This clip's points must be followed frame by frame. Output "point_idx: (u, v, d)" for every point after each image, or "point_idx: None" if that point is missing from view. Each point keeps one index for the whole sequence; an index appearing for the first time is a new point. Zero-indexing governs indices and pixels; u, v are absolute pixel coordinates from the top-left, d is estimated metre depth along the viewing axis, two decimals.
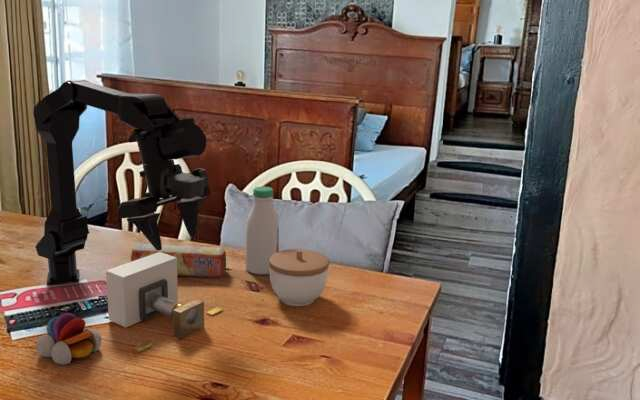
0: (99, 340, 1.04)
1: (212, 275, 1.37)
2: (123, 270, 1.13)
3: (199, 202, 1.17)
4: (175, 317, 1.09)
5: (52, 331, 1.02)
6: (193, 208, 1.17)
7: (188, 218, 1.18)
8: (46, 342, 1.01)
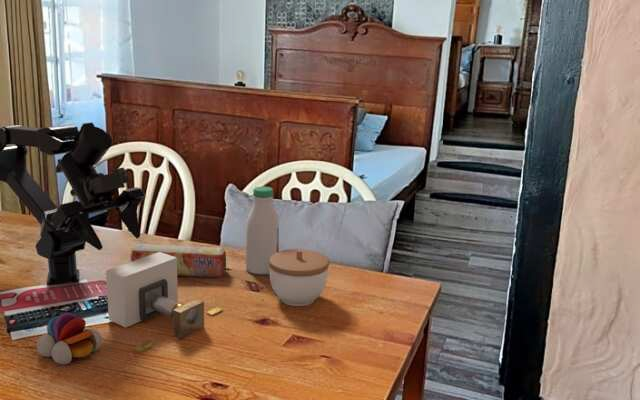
0: (99, 340, 1.04)
1: (212, 275, 1.37)
2: (123, 270, 1.13)
3: (133, 203, 1.23)
4: (175, 317, 1.09)
5: (52, 331, 1.02)
6: (130, 210, 1.23)
7: (129, 222, 1.24)
8: (46, 342, 1.01)
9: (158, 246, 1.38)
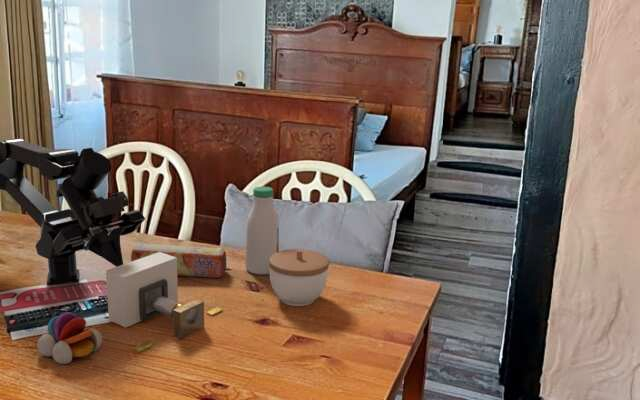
0: (100, 339, 1.04)
1: (212, 275, 1.37)
2: (123, 270, 1.13)
3: (116, 231, 1.21)
4: (175, 317, 1.09)
5: (53, 330, 1.03)
6: (112, 238, 1.21)
7: None
8: (47, 342, 1.01)
9: (158, 246, 1.38)
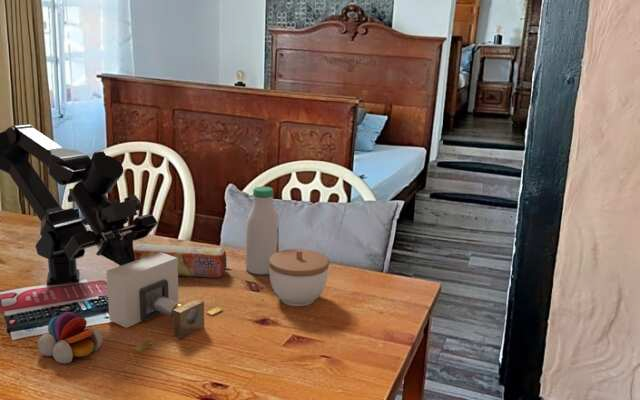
0: (100, 339, 1.04)
1: (212, 275, 1.37)
2: (123, 270, 1.13)
3: (128, 235, 1.19)
4: (175, 317, 1.09)
5: (53, 330, 1.03)
6: (125, 243, 1.19)
7: None
8: (47, 341, 1.01)
9: (158, 246, 1.38)
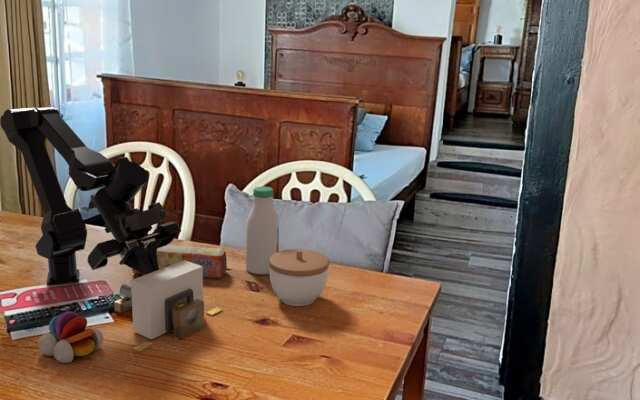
0: (101, 338, 1.05)
1: (212, 276, 1.37)
2: (148, 280, 1.09)
3: (152, 244, 1.16)
4: (175, 317, 1.09)
5: (54, 330, 1.03)
6: (149, 252, 1.15)
7: None
8: (48, 341, 1.01)
9: None
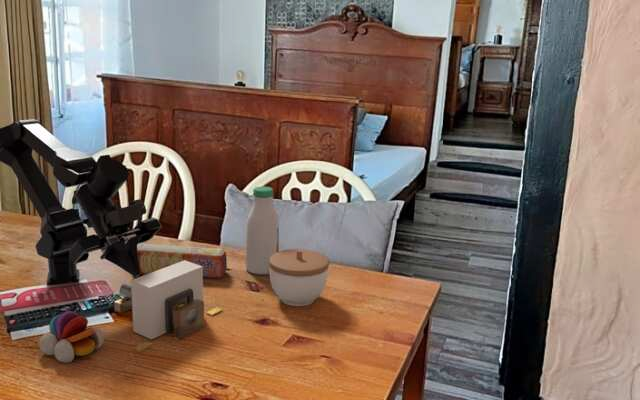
0: (101, 338, 1.05)
1: (212, 276, 1.37)
2: (148, 280, 1.09)
3: (133, 240, 1.19)
4: (175, 317, 1.09)
5: (55, 329, 1.03)
6: (130, 247, 1.19)
7: None
8: (49, 340, 1.01)
9: (159, 246, 1.38)
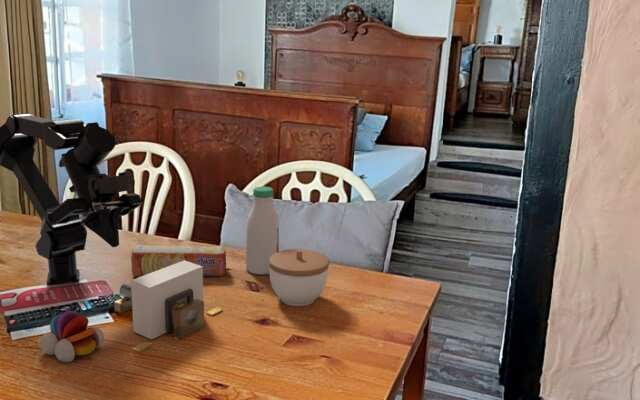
0: (102, 338, 1.05)
1: (215, 274, 1.38)
2: (148, 280, 1.09)
3: (116, 210, 1.19)
4: (175, 317, 1.09)
5: (55, 329, 1.03)
6: (112, 217, 1.19)
7: None
8: (49, 340, 1.02)
9: (158, 247, 1.37)
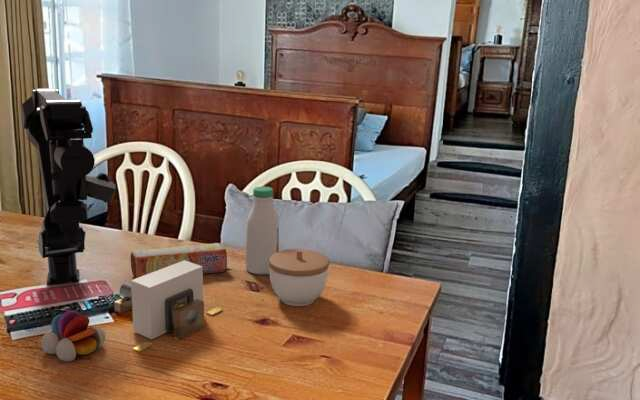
0: (103, 337, 1.05)
1: (217, 270, 1.40)
2: (148, 280, 1.09)
3: None
4: (175, 317, 1.09)
5: (56, 328, 1.03)
6: None
7: None
8: (50, 339, 1.02)
9: (158, 250, 1.36)
